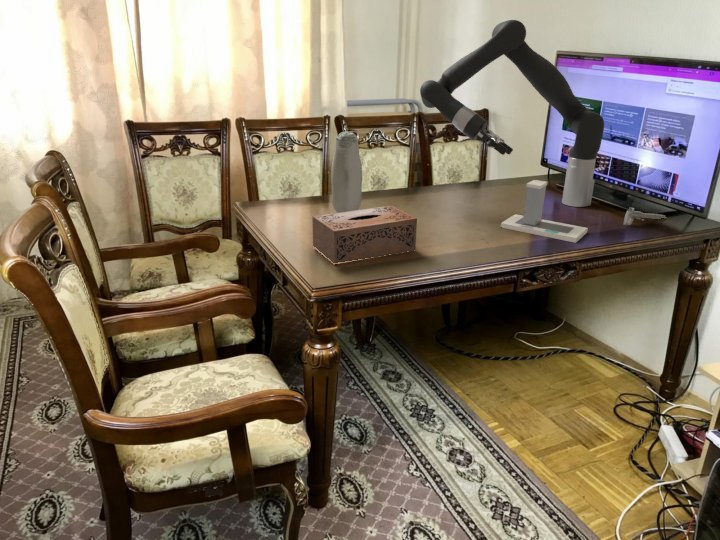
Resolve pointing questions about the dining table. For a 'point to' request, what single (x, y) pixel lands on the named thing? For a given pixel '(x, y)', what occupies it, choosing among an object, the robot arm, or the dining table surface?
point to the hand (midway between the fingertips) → (508, 152)
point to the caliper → (639, 216)
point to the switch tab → (534, 202)
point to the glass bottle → (346, 173)
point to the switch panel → (546, 229)
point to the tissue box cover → (364, 233)
